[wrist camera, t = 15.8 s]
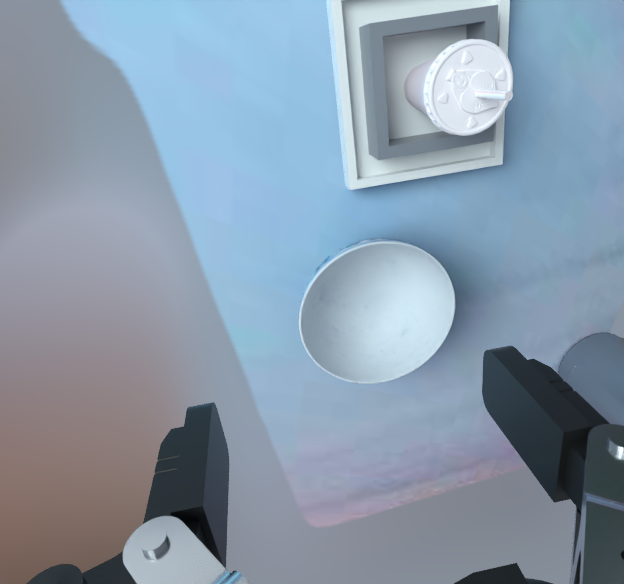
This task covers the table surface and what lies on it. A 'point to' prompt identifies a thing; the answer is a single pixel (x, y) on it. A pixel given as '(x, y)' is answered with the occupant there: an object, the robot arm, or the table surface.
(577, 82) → the table surface
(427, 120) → the white square tray
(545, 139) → the table surface
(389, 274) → the chinaware
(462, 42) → the smoothie
